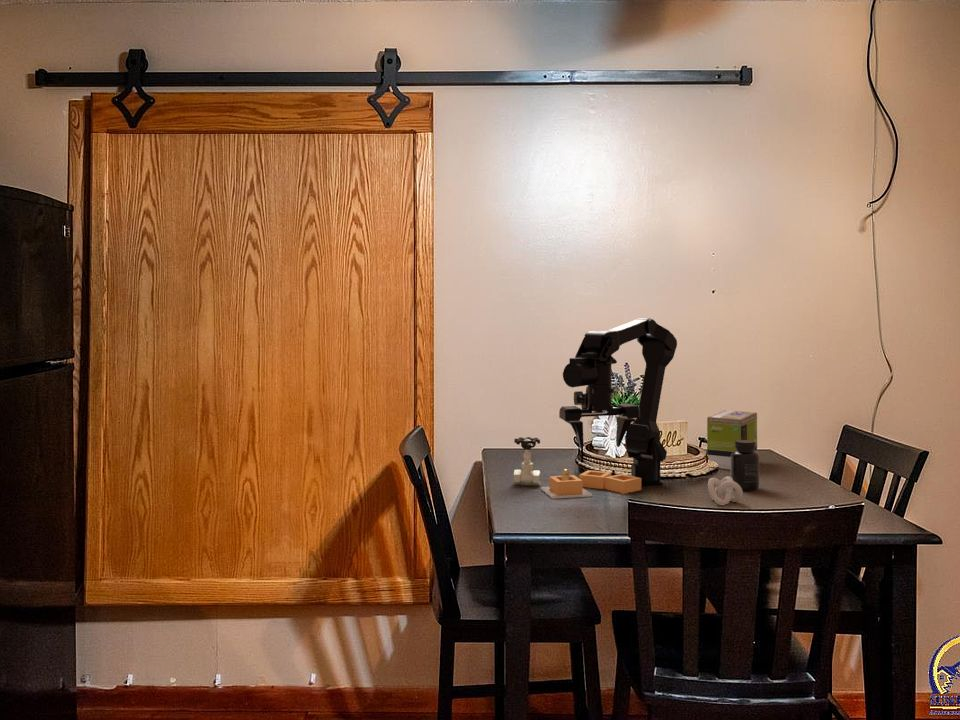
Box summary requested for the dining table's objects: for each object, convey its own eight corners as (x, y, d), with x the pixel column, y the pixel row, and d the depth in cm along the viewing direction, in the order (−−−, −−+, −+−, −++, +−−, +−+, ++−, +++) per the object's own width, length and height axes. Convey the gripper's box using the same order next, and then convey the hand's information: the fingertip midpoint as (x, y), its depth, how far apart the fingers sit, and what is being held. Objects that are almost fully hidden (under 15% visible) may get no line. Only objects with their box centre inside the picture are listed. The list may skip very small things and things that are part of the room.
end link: (573, 486, 202) (574, 475, 201) (582, 492, 195) (582, 480, 195) (549, 488, 200) (549, 476, 200) (557, 494, 194) (557, 482, 194)
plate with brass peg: (578, 487, 204) (578, 464, 203) (591, 496, 194) (592, 472, 194) (540, 489, 202) (540, 466, 201) (552, 498, 192) (552, 474, 192)
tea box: (723, 458, 239) (724, 409, 238) (757, 462, 234) (759, 411, 233) (705, 467, 227) (706, 415, 226) (741, 471, 221) (742, 418, 220)
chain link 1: (587, 481, 210) (588, 470, 210) (611, 483, 207) (611, 472, 207) (579, 486, 205) (579, 474, 204) (603, 489, 202) (603, 477, 201)
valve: (538, 488, 202) (538, 441, 201) (512, 487, 204) (512, 441, 203) (541, 483, 209) (541, 437, 208) (516, 482, 210) (516, 436, 209)
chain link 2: (622, 485, 206) (622, 473, 205) (641, 490, 200) (641, 478, 200) (604, 489, 202) (604, 477, 201) (623, 493, 197) (623, 481, 196)
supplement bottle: (760, 486, 203) (761, 439, 202) (757, 492, 197) (758, 444, 196) (732, 484, 206) (733, 438, 205) (728, 490, 200) (729, 442, 199)
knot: (701, 498, 192) (702, 474, 192) (735, 498, 192) (736, 474, 192) (709, 506, 185) (710, 481, 184) (745, 506, 184) (745, 481, 184)
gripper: (624, 378, 203) (624, 439, 204) (553, 381, 199) (553, 443, 201) (641, 383, 192) (641, 448, 193) (565, 386, 189) (566, 452, 190)
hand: (599, 447), depth 195 cm, fingers open, 9 cm apart
